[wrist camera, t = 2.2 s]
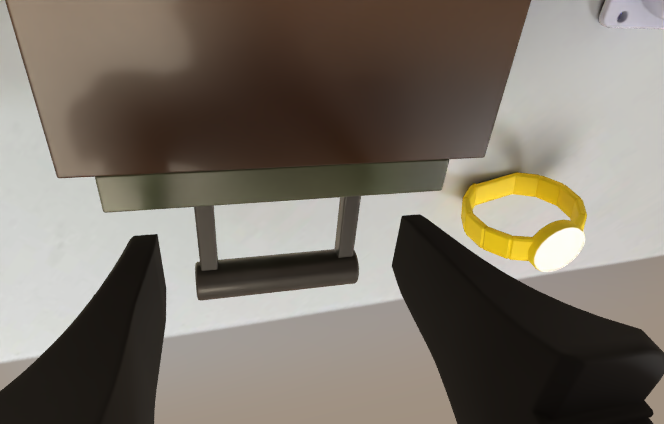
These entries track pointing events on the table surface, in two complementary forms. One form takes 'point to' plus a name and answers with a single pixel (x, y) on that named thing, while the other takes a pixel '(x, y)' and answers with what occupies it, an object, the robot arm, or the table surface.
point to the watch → (549, 242)
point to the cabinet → (264, 81)
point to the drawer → (269, 187)
